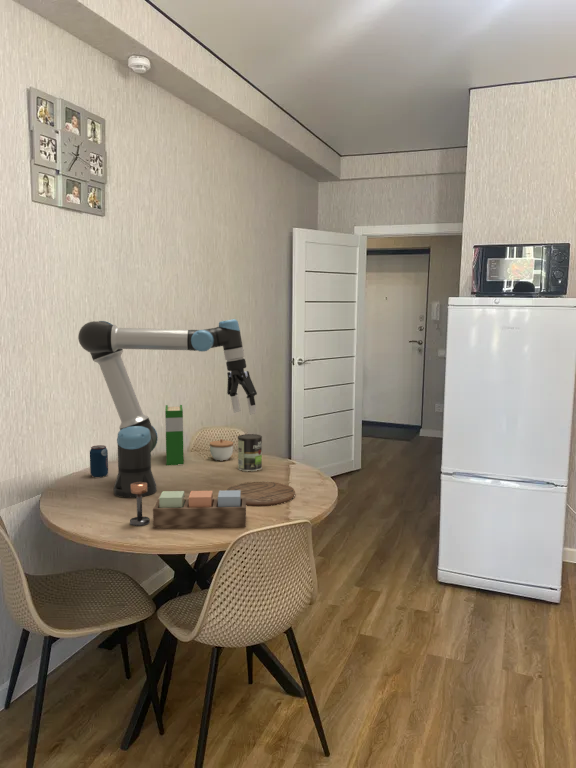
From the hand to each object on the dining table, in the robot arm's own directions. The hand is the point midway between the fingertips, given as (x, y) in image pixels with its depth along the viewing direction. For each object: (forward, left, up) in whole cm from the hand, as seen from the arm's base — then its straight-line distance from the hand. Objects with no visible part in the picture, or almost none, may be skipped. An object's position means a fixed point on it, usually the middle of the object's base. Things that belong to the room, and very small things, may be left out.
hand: (245, 412), depth 225 cm
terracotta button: (-13, -47, -22) cm, 54 cm away
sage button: (-22, -47, -22) cm, 57 cm away
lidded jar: (-11, +35, -27) cm, 46 cm away
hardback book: (-32, +34, -27) cm, 54 cm away
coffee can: (+2, +18, -27) cm, 33 cm away
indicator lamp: (-32, -47, -27) cm, 63 cm away
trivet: (+6, -20, -28) cm, 35 cm away
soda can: (-59, +9, -27) cm, 66 cm away
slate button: (-4, -47, -22) cm, 52 cm away
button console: (-13, -47, -27) cm, 56 cm away
